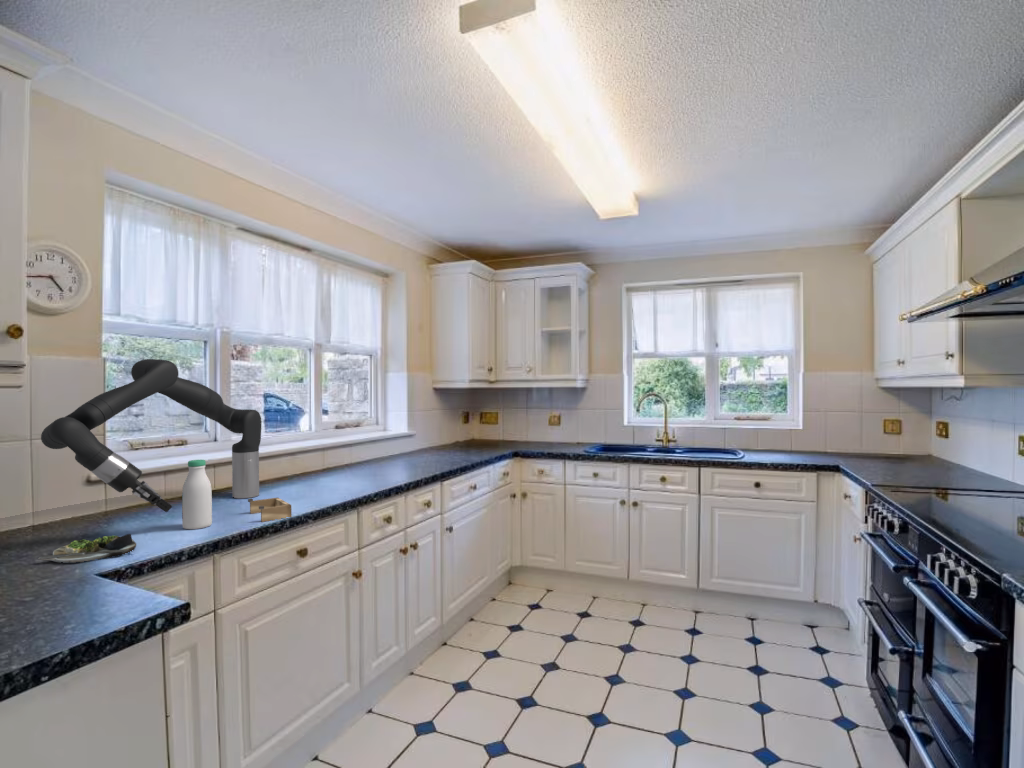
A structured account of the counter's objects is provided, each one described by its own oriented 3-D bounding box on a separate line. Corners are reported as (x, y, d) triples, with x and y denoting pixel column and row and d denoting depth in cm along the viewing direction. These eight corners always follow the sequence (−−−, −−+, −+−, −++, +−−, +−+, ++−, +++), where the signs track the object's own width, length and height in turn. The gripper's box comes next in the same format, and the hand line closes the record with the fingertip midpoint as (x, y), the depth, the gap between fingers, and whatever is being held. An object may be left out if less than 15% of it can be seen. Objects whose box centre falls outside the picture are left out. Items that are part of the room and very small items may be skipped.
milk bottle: (217, 524, 163) (217, 459, 163) (193, 531, 156) (192, 462, 156) (201, 522, 167) (200, 458, 167) (176, 528, 160) (175, 461, 160)
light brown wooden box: (248, 513, 177) (247, 499, 177) (277, 509, 183) (277, 495, 183) (260, 522, 166) (259, 506, 166) (291, 517, 172) (291, 502, 172)
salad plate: (39, 574, 122) (39, 554, 122) (36, 556, 136) (36, 538, 136) (141, 555, 136) (140, 536, 136) (129, 540, 149) (129, 523, 149)
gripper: (130, 464, 146) (183, 502, 154) (127, 459, 156) (176, 495, 164) (106, 486, 143) (161, 524, 150) (104, 479, 153) (156, 515, 161)
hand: (169, 509), depth 157 cm, fingers closed
